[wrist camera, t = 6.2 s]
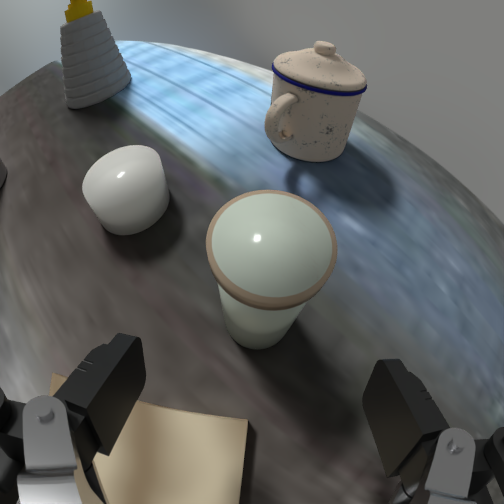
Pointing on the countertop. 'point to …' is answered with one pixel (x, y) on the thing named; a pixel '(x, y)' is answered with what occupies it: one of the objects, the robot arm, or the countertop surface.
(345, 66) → the teacup with lid
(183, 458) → the board
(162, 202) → the white domed cylinder
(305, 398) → the countertop surface
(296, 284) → the jar
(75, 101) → the soap bottle
